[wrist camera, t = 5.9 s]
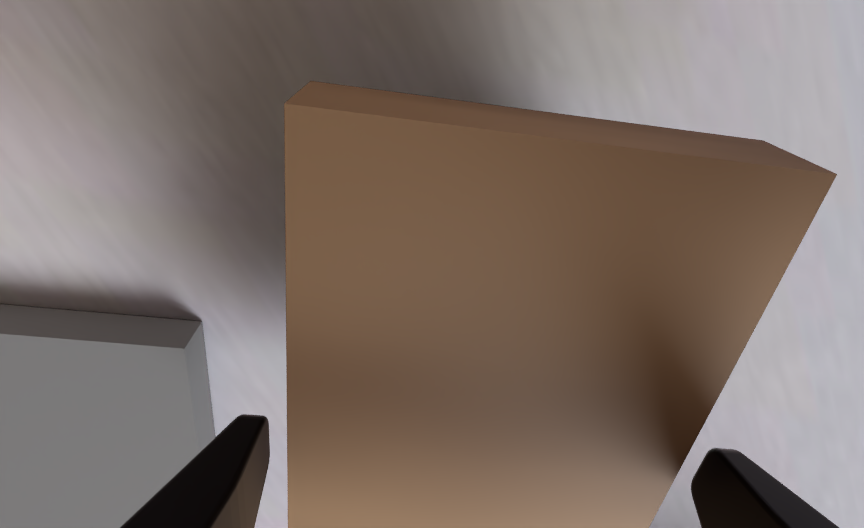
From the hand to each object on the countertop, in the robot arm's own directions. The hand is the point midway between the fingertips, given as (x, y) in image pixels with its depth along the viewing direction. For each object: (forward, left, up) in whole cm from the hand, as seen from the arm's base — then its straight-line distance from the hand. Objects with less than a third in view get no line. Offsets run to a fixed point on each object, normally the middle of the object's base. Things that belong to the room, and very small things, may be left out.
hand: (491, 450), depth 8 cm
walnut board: (0, 0, -2) cm, 2 cm away
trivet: (-8, +12, -6) cm, 16 cm away
